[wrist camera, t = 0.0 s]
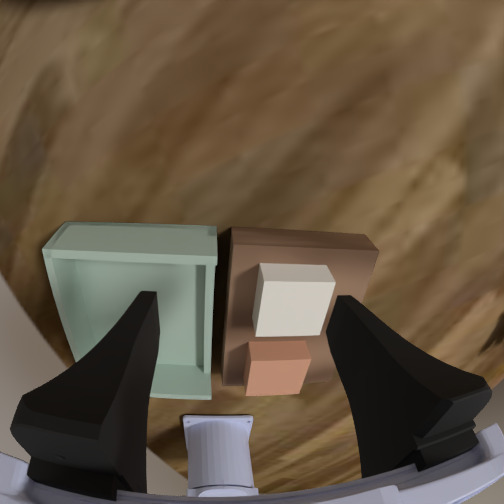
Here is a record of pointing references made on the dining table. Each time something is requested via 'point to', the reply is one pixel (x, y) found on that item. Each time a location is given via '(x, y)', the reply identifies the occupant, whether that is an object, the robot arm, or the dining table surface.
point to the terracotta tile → (275, 367)
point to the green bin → (134, 281)
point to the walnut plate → (288, 252)
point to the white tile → (291, 299)
